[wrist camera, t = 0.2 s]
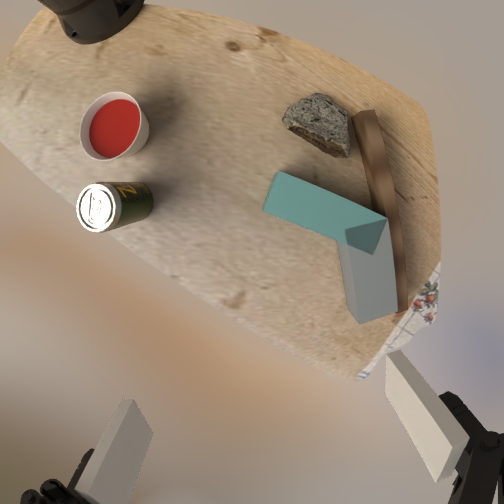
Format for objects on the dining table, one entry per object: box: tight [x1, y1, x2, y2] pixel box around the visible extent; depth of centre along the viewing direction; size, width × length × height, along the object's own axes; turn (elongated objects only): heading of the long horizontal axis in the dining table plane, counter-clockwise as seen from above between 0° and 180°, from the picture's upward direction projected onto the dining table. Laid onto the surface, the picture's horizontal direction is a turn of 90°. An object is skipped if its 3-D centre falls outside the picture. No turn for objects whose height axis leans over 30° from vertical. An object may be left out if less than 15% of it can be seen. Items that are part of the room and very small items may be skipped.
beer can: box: [77, 182, 153, 233], centre depth 32 cm, size 5×5×12 cm
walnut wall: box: [351, 110, 408, 313], centre depth 36 cm, size 28×2×4 cm, turn 14°
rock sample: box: [282, 93, 352, 159], centre depth 34 cm, size 10×8×9 cm
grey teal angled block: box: [262, 171, 398, 324], centre depth 36 cm, size 21×15×5 cm
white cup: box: [79, 92, 149, 161], centre depth 33 cm, size 9×9×6 cm
